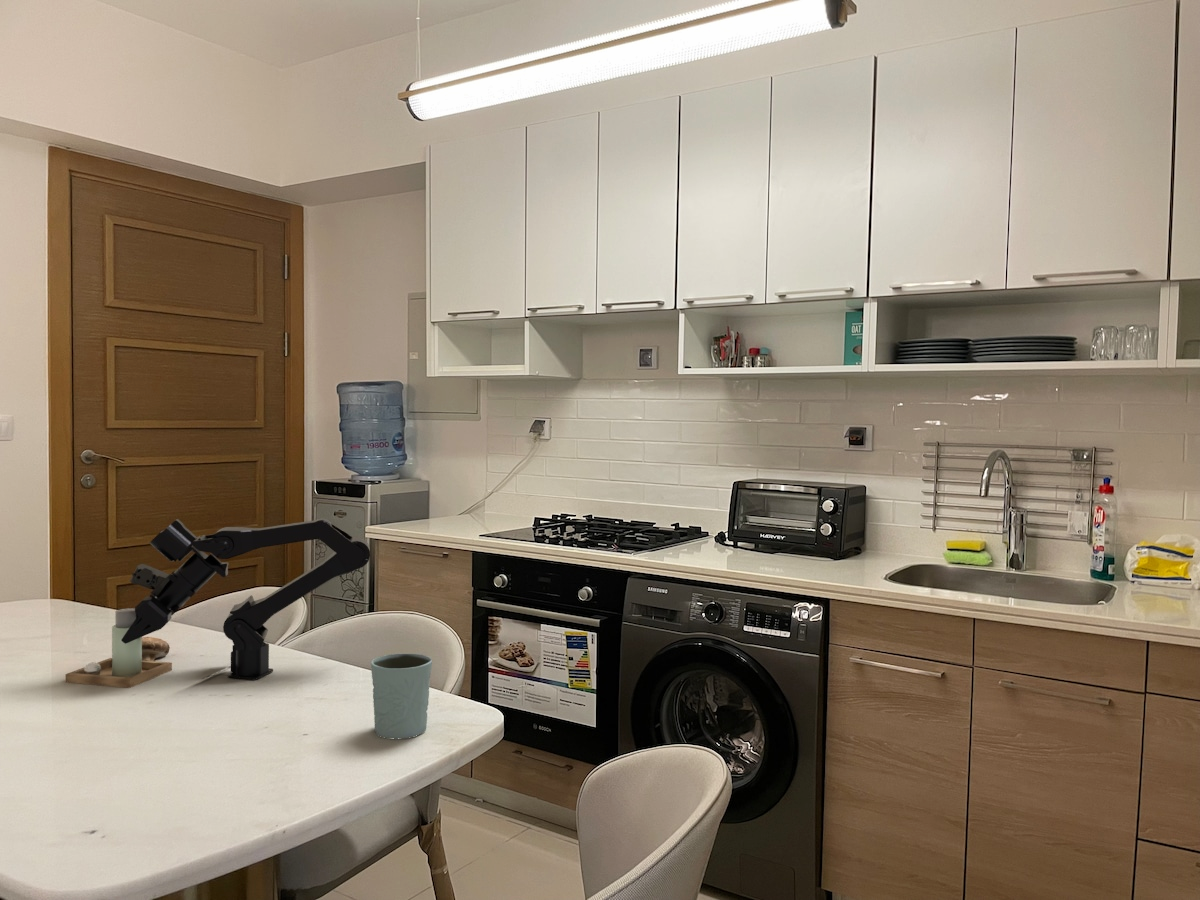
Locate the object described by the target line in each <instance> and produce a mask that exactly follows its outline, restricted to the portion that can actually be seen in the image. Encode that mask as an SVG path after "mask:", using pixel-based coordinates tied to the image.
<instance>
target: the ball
mask: <svg viewBox="0 0 1200 900" xmlns="http://www.w3.org/2000/svg"><path fill="white" fill-rule="evenodd" d="M84 667H85V668H84ZM84 667H83V668H84V674H91V675H100V673H101V671H102V668H101V666H100V665H99V664H98V662H96V661H95V662H94V661H93V662H90V663H88V664H86V665H85V666H84Z"/></svg>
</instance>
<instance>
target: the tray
mask: <svg viewBox="0 0 1200 900" xmlns="http://www.w3.org/2000/svg"><path fill="white" fill-rule="evenodd" d="M97 663H98V664H99V665H100V666H101V668H102V671H101V673H100V675H91V674H84V668H85V667H86V666H84V667H82V668H79V669H76V670H73V671H71V672H68V673H65V683H71V684H82V685H94V686H107V687H115V688H116V687H117V688H128V689H130V688H133V687H135V686H137V685H141V684H142V683H145V682H147V681H150V680H152V679H155V678H157V677H160V676H162V675H164V674H167V673H169V672H171V671H172V670H173V663H172V662H168V661H166V662H165V661H155V660H154V661H145V660H142V673H140V674H137V675H135V676H132V677H130V678H126V677H114V676H112V657H108V658H106V659H104V660H100V661H98V662H97Z"/></svg>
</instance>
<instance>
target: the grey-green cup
mask: <svg viewBox="0 0 1200 900" xmlns="http://www.w3.org/2000/svg"><path fill="white" fill-rule="evenodd" d="M432 665H433V659H432V658H431V657H430V656H427V655H424V654H419V653H406V652H405V653H393V654H386V655H381V656H379V657H376V658H373V659H371V661H370V668H371V678H372V683H371V684H372V686H373V688H372V699H373V701H372V702H373V703H372V704H373V715H374V717H373V720H374V733H375V732H376V733H375V734H376V735H377V736H378V735H379V736H378V737H380V736H381V737H380V738H382V737H385V738H384V739H386V738H394V739H393V740H399V739H398V738H407V739H410V738H409V737H413V736H416V735H419V734H421V733H423V732H424V731H425V732H426V730H427V723H428V709H429V708H428V707H429V698H430V682H431V675H432ZM425 732H424V733H425ZM424 733H423V734H424ZM421 735H422V734H421ZM419 736H420V735H419ZM416 737H417V736H416ZM413 738H414V737H413Z"/></svg>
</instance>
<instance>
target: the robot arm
mask: <svg viewBox="0 0 1200 900" xmlns="http://www.w3.org/2000/svg"><path fill="white" fill-rule="evenodd" d="M313 540H319V541H320V542H322V543H324V545H326V547H329V549H331V551H333V552H332V553H331V554H330V555H329V556H328V557H326V559H324V561H322V562H321V563H319V564H317V565H315V566H314V567H312V568H311V569H309V570H307V571H305V572H304V573H302V574H301V575H299V576H297V577H296V578H293V580H291V581H289V582H288V583H286V584H285V585H283V586H281V587H279V588H278V589H276V590H274V591H273V592H272V593H270V594H268V595H267V596H265V597H262V598H259V599H256V600H254V597H253V595H249V596H248V597H247V598H246V599H245V600H243V601H242V602H241V603H237V604H234V605H233V607H232V608H231V610H230V611H229V614H228V615H227V617H226V619H225V621H224V623H223V626H222V627H223V628H222V629H223V634H224V635H225V637H226V638H228V639H229V640H230V641H232V644H233V645H232V651H231V652H230V673H229V674H227V678H230V679H231V678H232V679H244V680H252V681H253V680H258V679H261V678H263V677H265V676H267V675H269V674H271V673H273V672H274V669H273V668H269V667H270V665H269V664H270V663H269V662H270V643H267V642H265V639H266V637H267V634H268V631H269V629H268V628H267V627H266V626H265V623H266V622H267V621H269V619H271V618H272V617H273V616H274V615H275V614H277V613H279V612H280V611H282V610H284V609H286V608H287V607H289V606H290V605H292V604H293V603H295V602H297V601H298V600H300V599H302V598H303V597H305V596H307V595H308V594H309V593H311V592H313V591H315V590H316V589H318V588H319V587H321V586H322V585H324V584H326V583H328V582H329V581H331V580H333V579H335V578H337V577H340V576H344V575H347V574H349V573H352V572H354V571H357V570H359V569H362V568H363V567H365V566H366V565H367V564H368V563H369V561H370V557H371V551H370V550H371V548H370V545H369V543H368V542H367V540H366V539H364V538H361V537H358V536H352V535H350V534H349V533H348V532H346V531H345V530H343V529H342V528H340V527H338V526H336V525H335V524H333V523H332V522H331V521H330V520H329V519H327V518H324V517H321V518H318V519H315V520H307V521H301V522H294V523H287V524H280V525H274V526H273V525H272V526H266V527H258V528H257V527H247V526H244V527H243V526H242V527H241V526H225V527H222V528H220V529H218V530H217V531H216V532H215V533H212V534H207V535H206V534H203V535H199V536H196V535H195V534H194V533H193V532H192V531H191V530H190V529H188V528H187V526H186V525H185V524H184V523H183V522H182V521H181V519H178V518H177V519H175V520H173V522H172V523H170V524H169V525H168V526H167V527H166V528H165V529H163V530H161V531H160V532H159V533H157V535H156V536H154V537H153V539H152V540H151V541H150V542H149V544H150V545H151V546H152V547H153V548H154V549H156V551H158V552H159V553H160V554H161V555H163V557H164V558H166V559H167V560H168V561H169V562H170V563H173V562H178V563H181V562H182V561H183V560H184V559H185V558H186V557H187V556H188V555H189V554H191V552H193V554H191V556H190V557H189V558H188V559H186V561H184V562H183V564H181V565H180V566H179V567H178V568H177V569H176V570H173V571H172V572H170V574H169V573H167V572H164V571H162V570H160V569H158V568H155V567H153V566H151V565H148V564H145V563H141V564H138V565H137V566H136V568H135V570H134V572H133V573H132V576H131V577H130V580H129V582H130V583H131V584H133V585H136V586H137V585H139V586H141V587H144V588H146V589H150V590H151V592H150V595H149V596H146V597H144V599H142V600H141V601H140V602H139V603H138V604H137V605H136V606H135V607H134V609H135V613H136V619H135V621H134V622H133V624H132V625H131V626H130V628H129V629H128V631H127V632H126V634H125V635H124V637H123V638H122V639H121V641H122V642H123V643H125V644H126V643H129V642H131V641H133V640H135V639H138V638H140V637H142V638H143V637H146V636H147V635H150V634H152V633H154V632H157V631H160V630H162V628H164V627H165V626H166V625H167V624H168V623H169V622H170V620H172V616H173V615H174V614H175V613H177V612H178V611H179V610H180V609H181V608H183V606H184V605H185V604H186V603H187V602H188V601H189V600H190V599H191V598H192V597H193V596H194V595H195V594H197V592H198V591H199V590H200V589H201V588H202V587H203V586H204V585H205V584H206V583H208V581H209V580H210V579H211V578H212V577H214V575H216V574H218V575H219V576H220V577H222V578H226V577H227V576H228V574H229V569H228V567H229V562H228V561H226V562H223V561H221V560H229V559H232V558H235V557H237V556H241V555H245V554H247V553H249V552H252V551H254V550H257V549H261V548H267V547H272V546H273V547H274V546H280V545H287V544H295V543H299V542H306V541H313ZM207 553H210V554H207Z"/></svg>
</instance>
